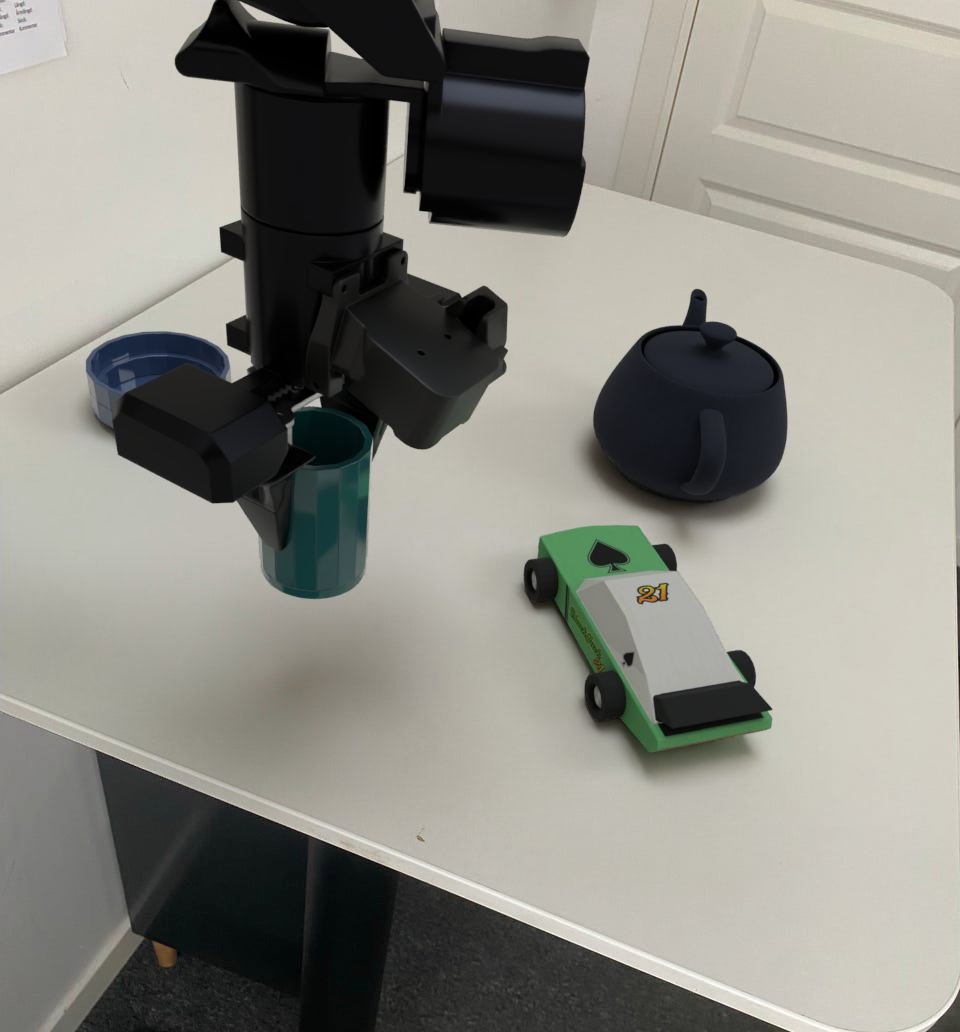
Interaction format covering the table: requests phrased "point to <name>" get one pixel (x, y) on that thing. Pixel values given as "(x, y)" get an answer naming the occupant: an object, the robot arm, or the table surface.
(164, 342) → the bowl
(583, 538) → the toy car
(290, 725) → the table surface
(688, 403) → the teapot
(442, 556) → the table surface
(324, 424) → the cup
